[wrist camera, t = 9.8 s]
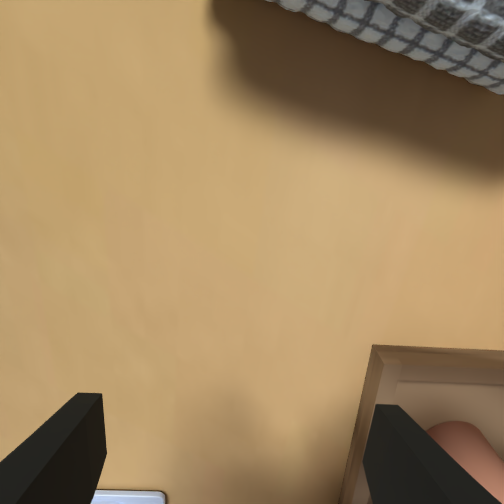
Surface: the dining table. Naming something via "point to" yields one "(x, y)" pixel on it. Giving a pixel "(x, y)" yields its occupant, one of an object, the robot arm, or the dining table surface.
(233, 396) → the dining table surface
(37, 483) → the robot arm
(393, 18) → the towel
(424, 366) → the tray
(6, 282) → the dining table surface
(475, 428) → the dowel
